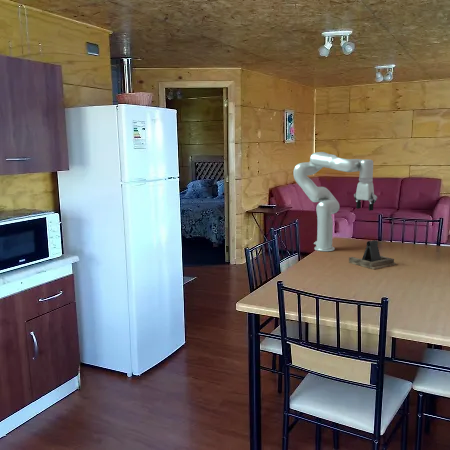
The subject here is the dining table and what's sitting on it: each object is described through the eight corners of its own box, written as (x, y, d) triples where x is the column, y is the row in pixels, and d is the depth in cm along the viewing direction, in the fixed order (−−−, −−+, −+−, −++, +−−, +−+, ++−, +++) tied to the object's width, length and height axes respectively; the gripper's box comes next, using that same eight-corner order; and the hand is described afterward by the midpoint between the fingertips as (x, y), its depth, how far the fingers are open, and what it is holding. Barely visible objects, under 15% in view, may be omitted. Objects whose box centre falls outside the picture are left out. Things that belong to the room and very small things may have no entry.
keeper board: (348, 262, 269) (349, 250, 268) (370, 258, 279) (371, 246, 277) (373, 269, 254) (374, 256, 253) (396, 264, 263) (396, 252, 262)
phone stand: (381, 262, 265) (382, 241, 263) (374, 263, 262) (375, 242, 260) (368, 259, 273) (369, 238, 271) (361, 260, 269) (362, 240, 267)
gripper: (350, 180, 284) (349, 208, 287) (372, 182, 269) (371, 211, 272) (359, 179, 288) (358, 207, 291) (381, 181, 273) (380, 210, 276)
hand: (364, 209), depth 281 cm, fingers open, 9 cm apart
